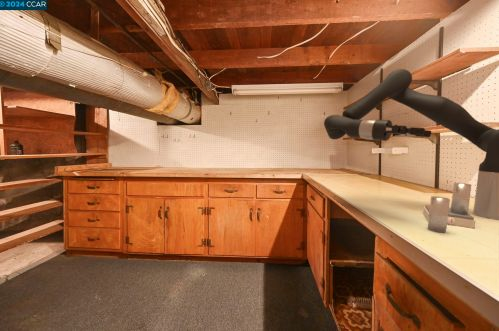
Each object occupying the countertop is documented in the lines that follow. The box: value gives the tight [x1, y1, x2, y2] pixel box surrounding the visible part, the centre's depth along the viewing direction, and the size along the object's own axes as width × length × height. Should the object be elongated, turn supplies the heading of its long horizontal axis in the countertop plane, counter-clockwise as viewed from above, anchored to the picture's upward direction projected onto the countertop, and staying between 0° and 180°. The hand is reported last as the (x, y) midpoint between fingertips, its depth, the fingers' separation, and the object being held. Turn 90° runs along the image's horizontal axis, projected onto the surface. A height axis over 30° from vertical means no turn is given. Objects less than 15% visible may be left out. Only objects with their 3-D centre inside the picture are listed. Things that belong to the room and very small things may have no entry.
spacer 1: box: [427, 195, 451, 234], centre depth 71 cm, size 4×4×10 cm
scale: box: [422, 204, 477, 229], centre depth 83 cm, size 12×12×3 cm
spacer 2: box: [450, 182, 472, 215], centre depth 80 cm, size 4×4×10 cm
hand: (427, 132), depth 76 cm, fingers open, 8 cm apart
